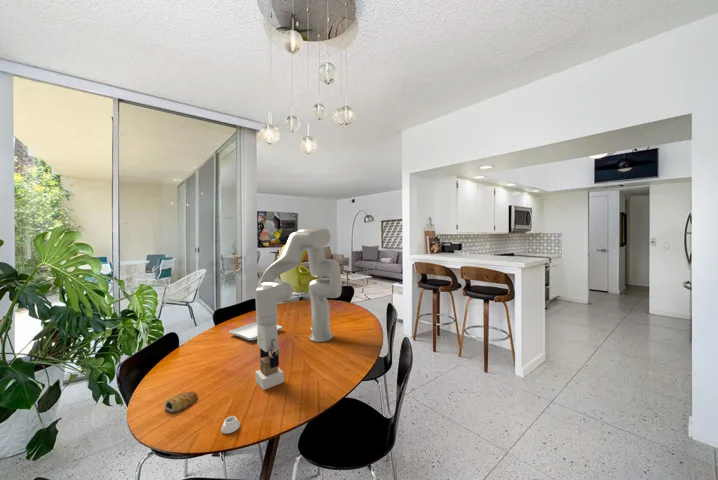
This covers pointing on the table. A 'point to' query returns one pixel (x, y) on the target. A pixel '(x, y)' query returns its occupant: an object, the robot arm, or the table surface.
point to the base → (269, 379)
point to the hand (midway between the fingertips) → (269, 362)
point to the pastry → (180, 401)
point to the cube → (267, 366)
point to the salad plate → (248, 331)
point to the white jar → (230, 425)
